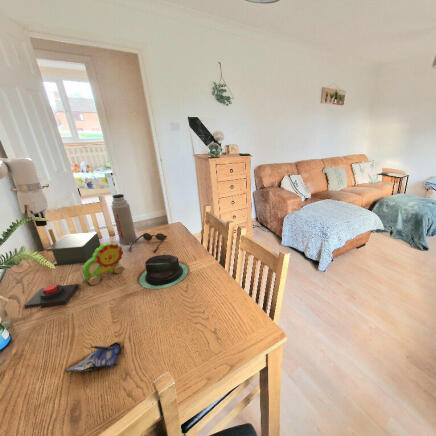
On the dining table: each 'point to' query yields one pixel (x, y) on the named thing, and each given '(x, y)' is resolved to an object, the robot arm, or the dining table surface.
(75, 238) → the dark green box
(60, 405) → the dining table surface
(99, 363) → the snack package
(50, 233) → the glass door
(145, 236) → the eyeglasses
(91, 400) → the dining table surface
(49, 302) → the control block
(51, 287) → the red button
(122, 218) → the thermos bottle
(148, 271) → the black fedora hat
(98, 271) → the toy lion
